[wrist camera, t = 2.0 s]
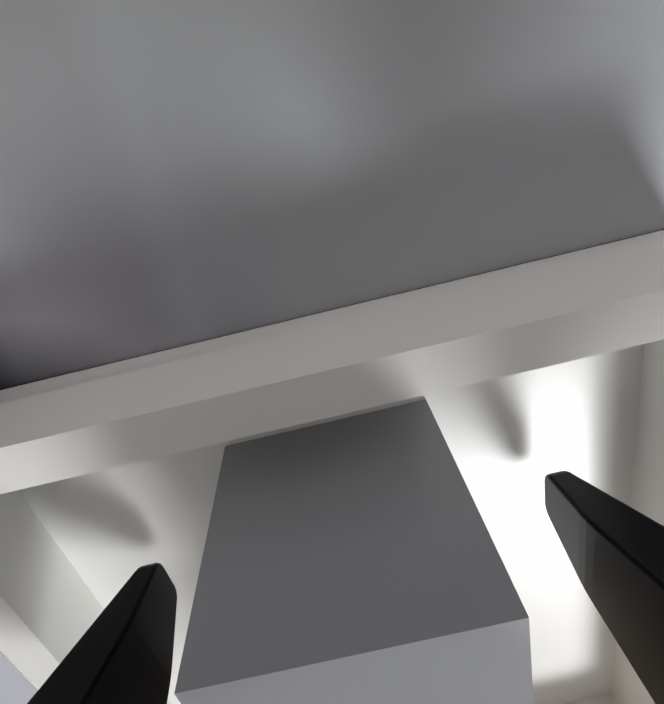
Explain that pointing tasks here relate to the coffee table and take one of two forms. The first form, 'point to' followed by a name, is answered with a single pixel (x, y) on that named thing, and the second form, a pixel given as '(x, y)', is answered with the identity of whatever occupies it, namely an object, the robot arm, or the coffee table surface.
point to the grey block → (352, 575)
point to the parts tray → (341, 402)
